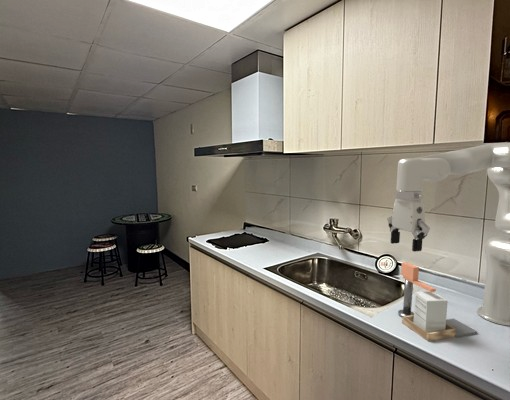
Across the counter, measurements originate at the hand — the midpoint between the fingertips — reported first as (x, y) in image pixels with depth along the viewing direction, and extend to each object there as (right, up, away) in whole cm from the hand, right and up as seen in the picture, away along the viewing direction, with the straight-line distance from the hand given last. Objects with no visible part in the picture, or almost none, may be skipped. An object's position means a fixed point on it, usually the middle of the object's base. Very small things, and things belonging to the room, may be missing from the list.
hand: (405, 246), depth 97 cm
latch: (+10, -16, +11) cm, 21 cm away
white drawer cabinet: (+12, -31, +7) cm, 34 cm away
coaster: (+22, -31, +7) cm, 38 cm away
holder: (+12, -31, +7) cm, 33 cm away
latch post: (+9, -30, +16) cm, 35 cm away
